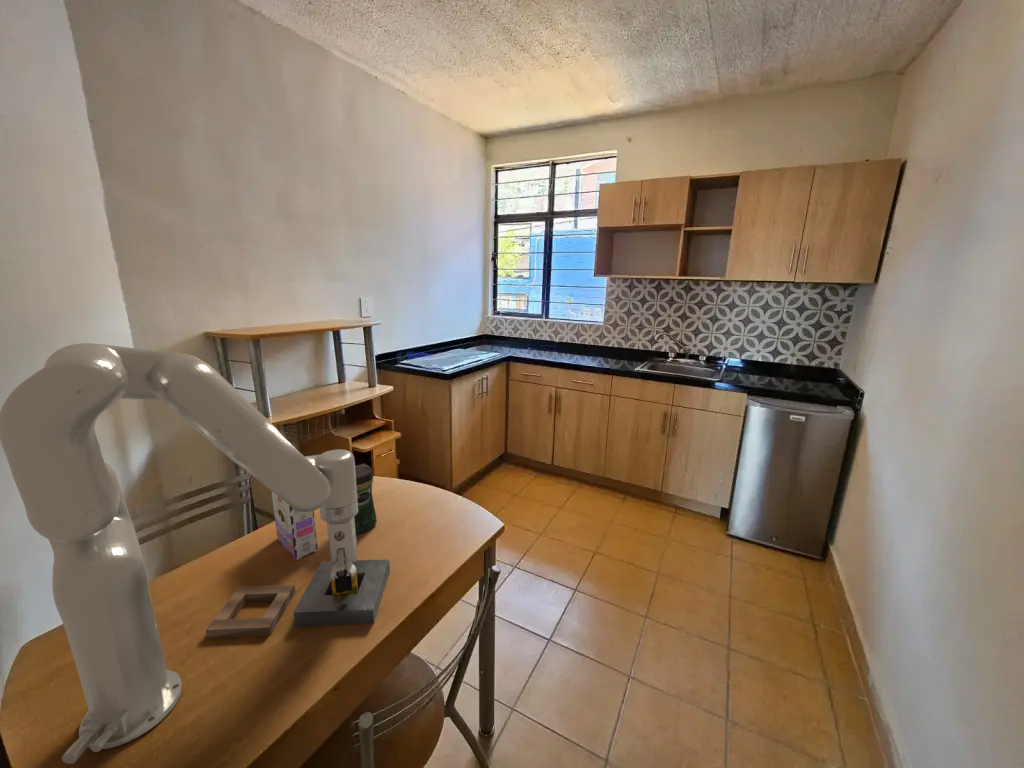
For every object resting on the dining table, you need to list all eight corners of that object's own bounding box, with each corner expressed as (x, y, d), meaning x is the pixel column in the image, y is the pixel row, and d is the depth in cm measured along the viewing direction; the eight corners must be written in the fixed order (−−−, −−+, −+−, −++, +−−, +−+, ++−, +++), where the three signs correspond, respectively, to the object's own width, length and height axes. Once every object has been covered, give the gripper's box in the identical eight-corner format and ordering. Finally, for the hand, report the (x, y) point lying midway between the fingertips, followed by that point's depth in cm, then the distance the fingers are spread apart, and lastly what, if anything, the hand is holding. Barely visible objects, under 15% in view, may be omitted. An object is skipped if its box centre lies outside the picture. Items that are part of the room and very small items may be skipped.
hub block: (374, 623, 87) (373, 609, 86) (295, 626, 86) (293, 612, 85) (389, 571, 102) (389, 559, 102) (323, 573, 101) (321, 561, 100)
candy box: (319, 551, 109) (313, 495, 106) (295, 561, 105) (288, 503, 101) (298, 530, 119) (292, 477, 115) (276, 538, 114) (269, 484, 110)
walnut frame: (270, 635, 83) (268, 627, 83) (207, 638, 82) (205, 629, 82) (295, 592, 95) (294, 584, 95) (240, 594, 94) (239, 586, 94)
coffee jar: (367, 515, 127) (363, 458, 122) (380, 525, 122) (377, 467, 117) (336, 528, 120) (330, 468, 115) (349, 539, 115) (344, 478, 110)
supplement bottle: (351, 585, 98) (348, 550, 95) (362, 597, 94) (360, 560, 92) (328, 598, 94) (325, 561, 91) (339, 610, 90) (336, 572, 88)
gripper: (357, 526, 82) (362, 599, 86) (358, 486, 98) (362, 549, 102) (316, 533, 80) (323, 607, 84) (323, 490, 95) (329, 555, 99)
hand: (344, 575), depth 93 cm, fingers open, 9 cm apart
